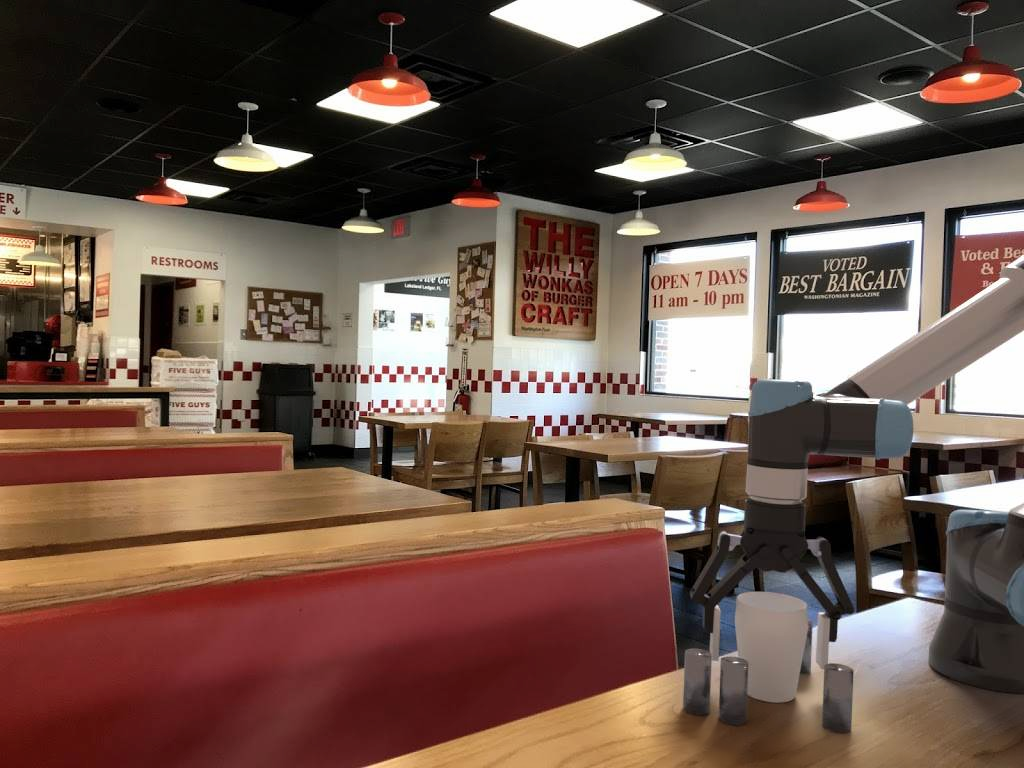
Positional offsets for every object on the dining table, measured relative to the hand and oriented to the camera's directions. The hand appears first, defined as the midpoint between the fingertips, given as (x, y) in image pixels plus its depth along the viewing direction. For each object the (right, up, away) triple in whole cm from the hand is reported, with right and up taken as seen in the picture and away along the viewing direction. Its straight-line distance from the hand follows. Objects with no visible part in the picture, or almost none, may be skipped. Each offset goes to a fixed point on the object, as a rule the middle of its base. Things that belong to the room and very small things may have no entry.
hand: (767, 661), depth 104 cm
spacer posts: (-2, -4, 0) cm, 4 cm away
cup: (0, -4, 0) cm, 4 cm away
